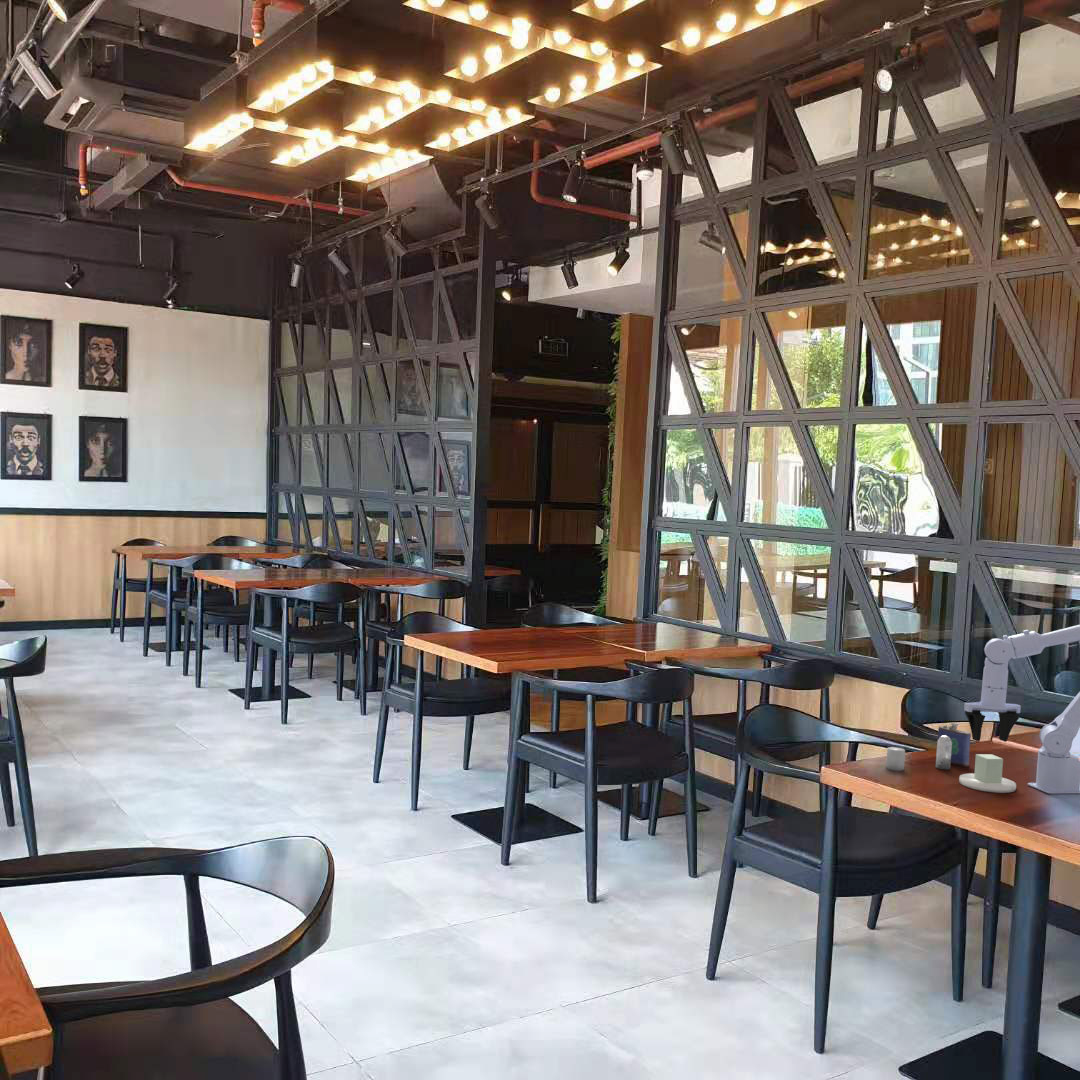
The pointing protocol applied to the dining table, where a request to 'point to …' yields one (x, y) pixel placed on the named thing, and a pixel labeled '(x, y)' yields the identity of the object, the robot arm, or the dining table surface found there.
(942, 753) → the salt shaker
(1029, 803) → the dining table surface
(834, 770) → the dining table surface
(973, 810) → the dining table surface
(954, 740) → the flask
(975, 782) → the plate
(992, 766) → the sage block
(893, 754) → the white rounded domed part
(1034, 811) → the dining table surface
